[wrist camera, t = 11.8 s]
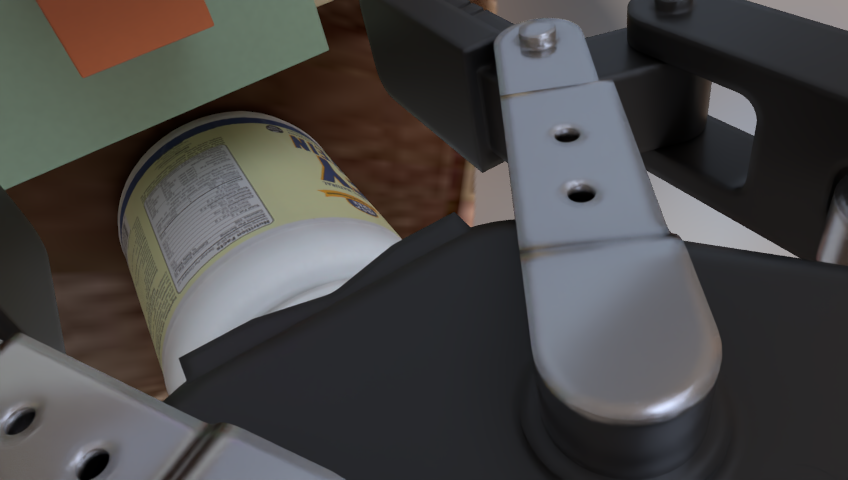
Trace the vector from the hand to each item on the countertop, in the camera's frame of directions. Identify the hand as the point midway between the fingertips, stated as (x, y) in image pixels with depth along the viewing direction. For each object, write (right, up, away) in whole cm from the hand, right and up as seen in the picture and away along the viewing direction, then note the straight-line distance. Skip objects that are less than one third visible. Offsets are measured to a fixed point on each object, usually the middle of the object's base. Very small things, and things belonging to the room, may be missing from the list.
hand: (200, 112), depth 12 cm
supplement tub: (-7, 0, +26) cm, 27 cm away
